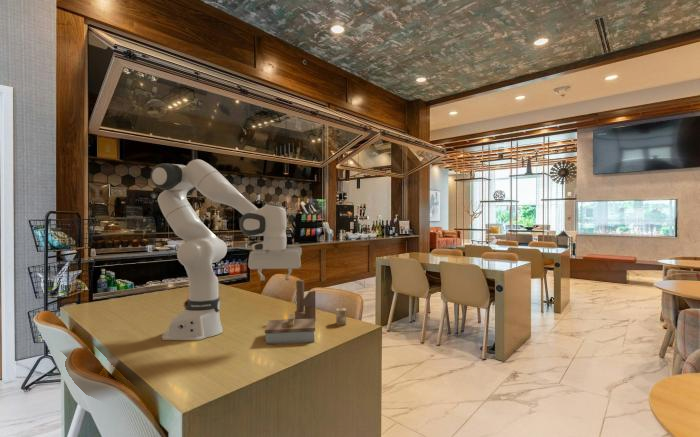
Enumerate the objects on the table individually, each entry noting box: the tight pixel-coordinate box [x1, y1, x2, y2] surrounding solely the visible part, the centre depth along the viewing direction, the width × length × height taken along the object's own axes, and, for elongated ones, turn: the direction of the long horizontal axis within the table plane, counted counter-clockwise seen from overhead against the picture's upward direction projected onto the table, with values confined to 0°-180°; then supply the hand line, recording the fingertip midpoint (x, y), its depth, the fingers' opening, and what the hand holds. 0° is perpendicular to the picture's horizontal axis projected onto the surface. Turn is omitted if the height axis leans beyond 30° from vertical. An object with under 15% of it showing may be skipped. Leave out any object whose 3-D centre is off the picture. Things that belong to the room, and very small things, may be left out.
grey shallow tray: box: [265, 331, 315, 345], centre depth 134 cm, size 18×12×4 cm, turn 96°
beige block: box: [335, 307, 347, 327], centre depth 152 cm, size 4×4×6 cm
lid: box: [264, 313, 316, 334], centre depth 134 cm, size 19×13×4 cm
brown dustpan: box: [294, 279, 317, 322], centre depth 158 cm, size 4×11×18 cm, turn 48°
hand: (274, 280), depth 134 cm, fingers open, 8 cm apart
